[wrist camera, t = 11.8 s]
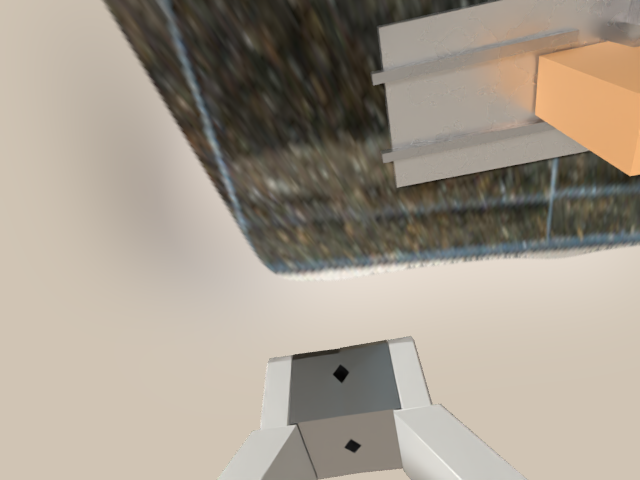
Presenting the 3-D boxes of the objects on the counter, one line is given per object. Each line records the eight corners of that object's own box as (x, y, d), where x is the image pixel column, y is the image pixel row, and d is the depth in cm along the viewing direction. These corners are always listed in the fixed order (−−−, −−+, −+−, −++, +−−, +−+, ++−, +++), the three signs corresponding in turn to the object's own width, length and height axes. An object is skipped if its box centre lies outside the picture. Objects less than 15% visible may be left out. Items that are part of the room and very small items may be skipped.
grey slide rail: (384, 184, 39) (394, 214, 34) (363, 29, 32) (373, 39, 27) (631, 137, 37) (677, 161, 32) (666, -39, 30) (731, -40, 25)
